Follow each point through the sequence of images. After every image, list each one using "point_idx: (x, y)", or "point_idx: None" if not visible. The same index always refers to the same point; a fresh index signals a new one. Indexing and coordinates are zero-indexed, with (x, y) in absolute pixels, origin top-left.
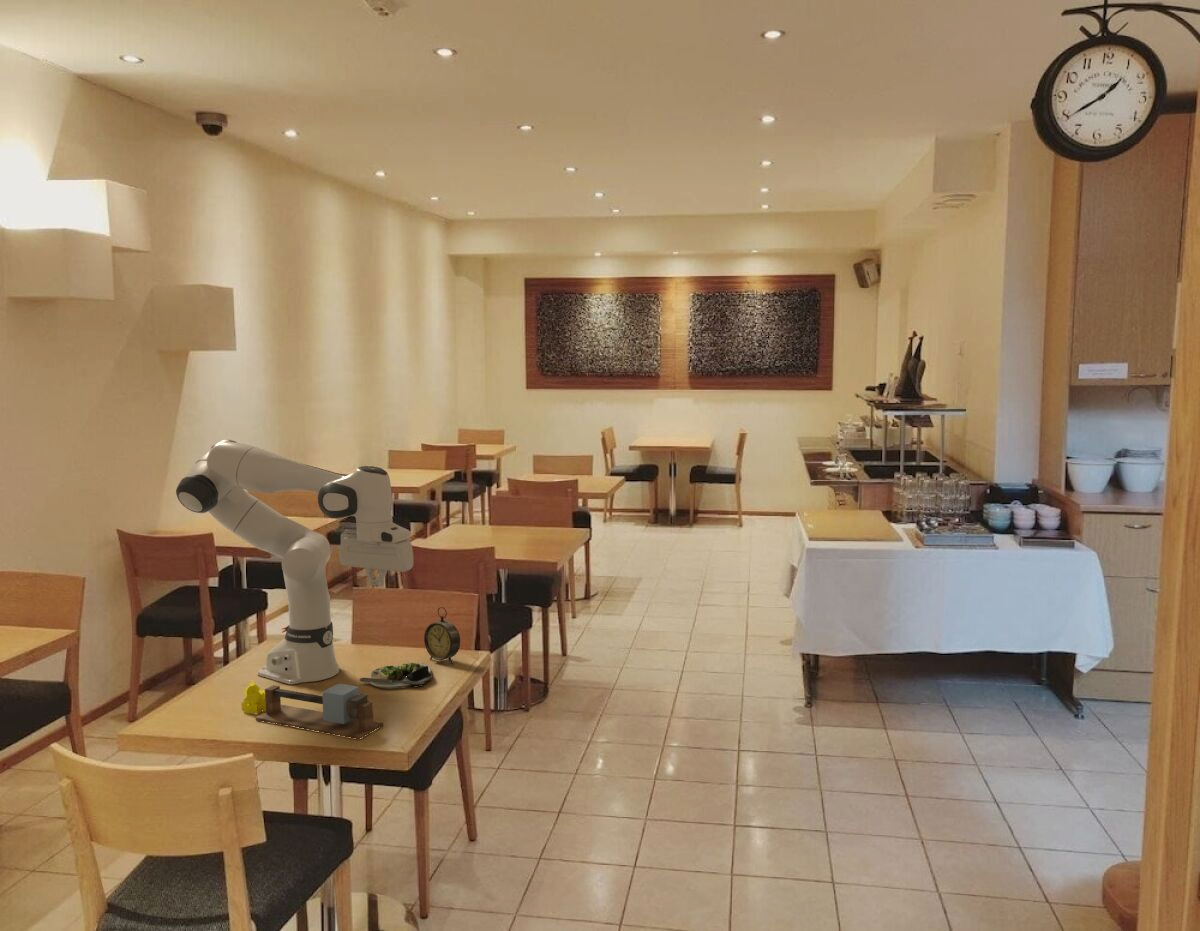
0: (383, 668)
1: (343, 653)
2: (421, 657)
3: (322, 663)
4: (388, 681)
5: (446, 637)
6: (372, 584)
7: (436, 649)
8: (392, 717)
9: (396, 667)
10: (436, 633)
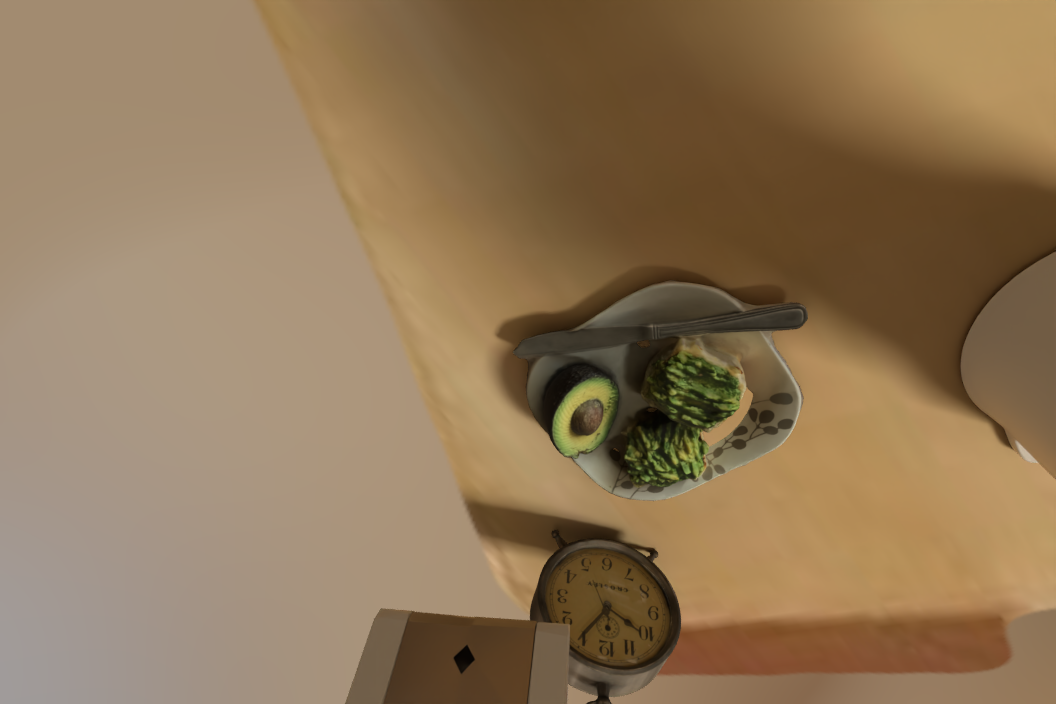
0: (732, 398)
1: (1028, 537)
2: (699, 561)
3: (1048, 338)
4: (661, 323)
5: (569, 615)
6: (512, 634)
7: (620, 576)
8: (432, 14)
9: (684, 422)
10: (621, 633)
